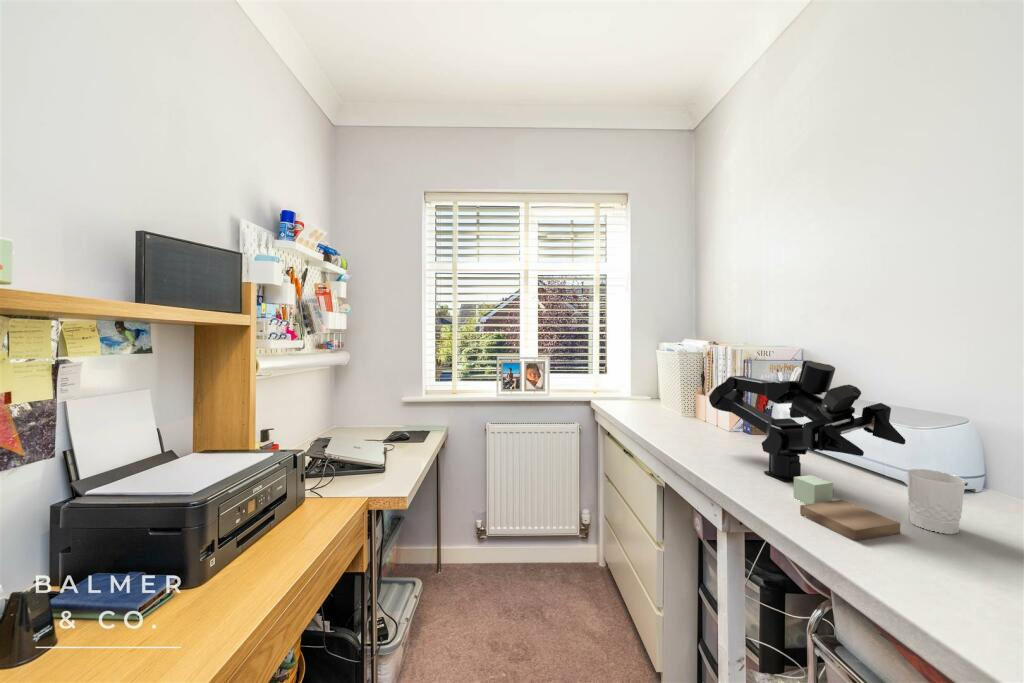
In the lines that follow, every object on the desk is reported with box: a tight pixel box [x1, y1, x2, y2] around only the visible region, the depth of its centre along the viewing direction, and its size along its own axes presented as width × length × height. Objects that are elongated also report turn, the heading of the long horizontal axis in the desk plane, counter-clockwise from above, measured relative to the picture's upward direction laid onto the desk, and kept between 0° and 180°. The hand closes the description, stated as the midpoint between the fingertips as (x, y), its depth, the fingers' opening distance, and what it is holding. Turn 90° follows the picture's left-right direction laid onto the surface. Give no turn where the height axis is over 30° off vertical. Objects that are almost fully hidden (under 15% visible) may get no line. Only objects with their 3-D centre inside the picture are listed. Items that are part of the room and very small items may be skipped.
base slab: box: [799, 499, 901, 542], centre depth 83 cm, size 11×11×2 cm
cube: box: [793, 474, 834, 504], centre depth 93 cm, size 5×5×5 cm
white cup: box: [906, 468, 966, 535], centre depth 81 cm, size 8×8×10 cm
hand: (883, 448), depth 83 cm, fingers open, 9 cm apart
